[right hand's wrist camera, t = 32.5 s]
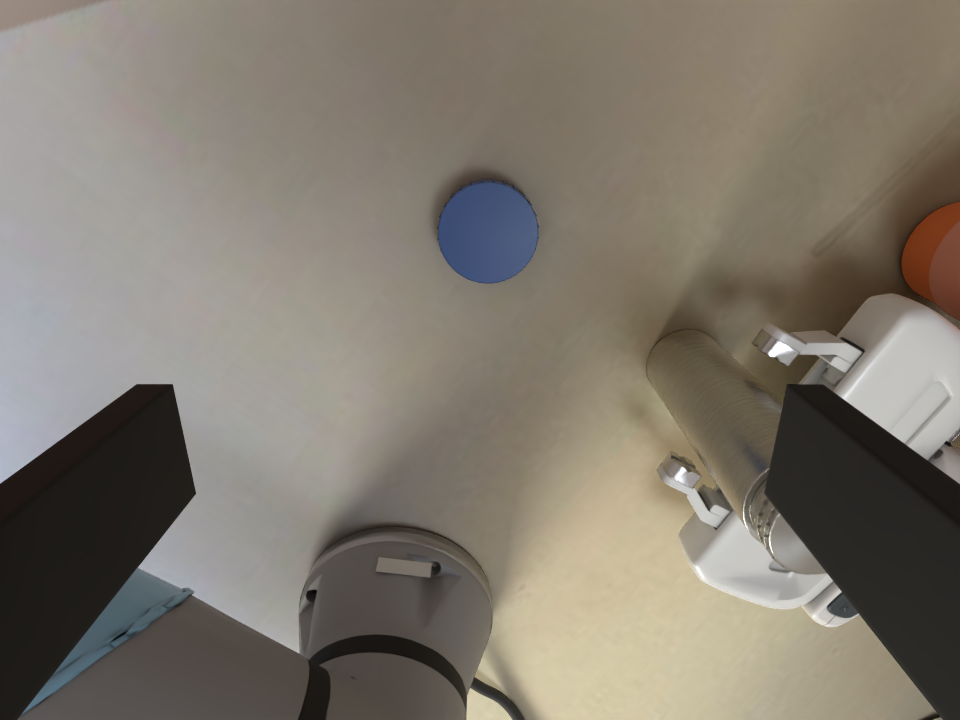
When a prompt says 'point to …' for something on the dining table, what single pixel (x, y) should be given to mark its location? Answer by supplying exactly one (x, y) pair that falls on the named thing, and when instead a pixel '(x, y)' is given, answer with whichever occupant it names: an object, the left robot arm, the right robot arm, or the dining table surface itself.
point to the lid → (488, 231)
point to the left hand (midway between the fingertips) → (712, 403)
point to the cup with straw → (936, 259)
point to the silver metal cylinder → (728, 433)
